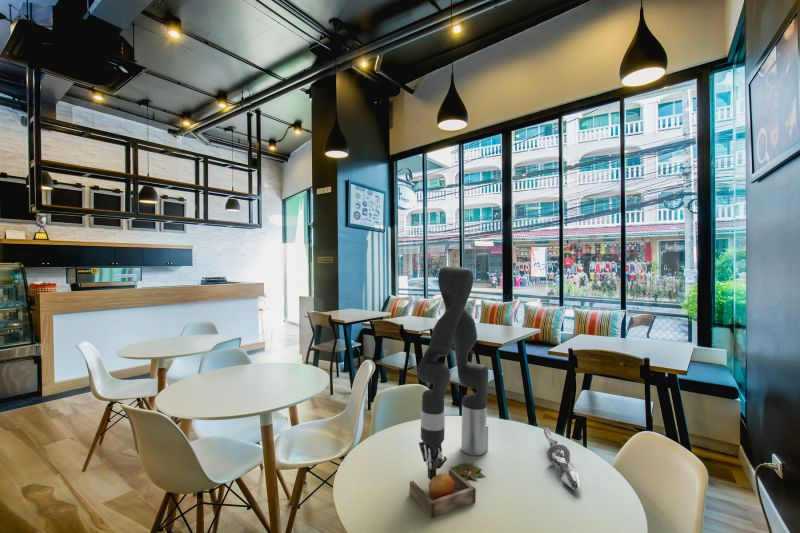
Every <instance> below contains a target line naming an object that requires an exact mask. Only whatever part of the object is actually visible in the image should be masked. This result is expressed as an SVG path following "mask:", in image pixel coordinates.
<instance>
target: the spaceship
mask: <svg viewBox="0 0 800 533" xmlns="http://www.w3.org/2000/svg"><path fill="white" fill-rule="evenodd" d="M543 434H544V436H545V439H546V440H547V441H548V442H549V443H548V444H549V448H548V450H547V452H546V457H547V459H548V461H549V462H550V463H551V464H553V465H554V467H555V468H556V469H557V471H558V472H559V474H560V473H561V474H560V476H561V475H562V476H561V479H560V480H562V482H564V484H566V485H567V486H568V487H570V488H571V489H572V490H573V491H575V490H577V489H578V488H580V483H581V482H580V474H579V472H577V471H576V470H577V468H576V466H575V465H574V463H572V462H571V458H570V457H571V452H570V450H569V448H568V447H567V446H566V445H563V444H561V443H558V440H557V439H554V438H553V436H552V433H551V430H550V429H549V428H548V427H547V426H545V427H543ZM562 451H563V452H562ZM555 464H556V465H555ZM558 464H560V465H558ZM569 466H570V467H572V468H574V469H575V470H572V468H569Z"/></svg>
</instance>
